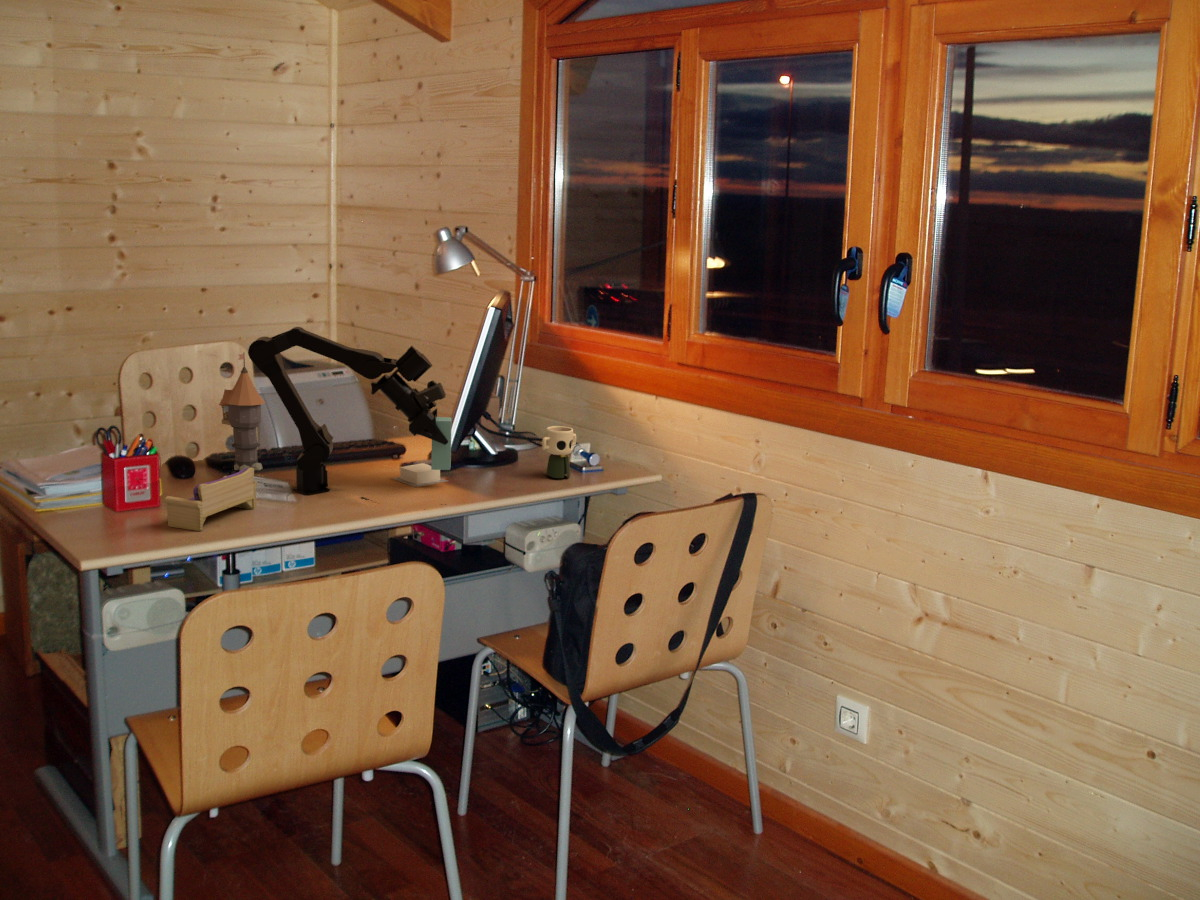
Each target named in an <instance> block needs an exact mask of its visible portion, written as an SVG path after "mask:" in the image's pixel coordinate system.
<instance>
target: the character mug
mask: <svg viewBox="0 0 1200 900" xmlns="http://www.w3.org/2000/svg"><path fill="white" fill-rule="evenodd" d="M545 429H546V430H545V437H542V441H541V442H542V443H541V448H542V449H541V450H544V451H545V452H546V453H548V454H550V455H549V456H548V460H547V461H548V462H547V467H546V476H548V477H550V478H553V479H564V478H565V475H566V478H569V477H570V476H571V472H570V471H571V470H570V460H569V459H570V458H569V456H568V455H569V454H571V453H572V452H573V450H574V446H576V444H577V434H576V433H574V428H572V427H571V426H570V427H569V426H563V425H561V426H560V425H553V426H548V427H546V428H545Z"/></svg>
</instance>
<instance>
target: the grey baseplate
mask: <svg viewBox="0 0 1200 900" xmlns="http://www.w3.org/2000/svg"><path fill="white" fill-rule="evenodd" d="M391 480H395V481H398V482H400V483H402V484H406V485H408V486H411V487H414V488H419V487H423V486H429V485H436V484H441V483H445V482H448V480H447V479H444V478H442V477H440V481H435V482H429V483H424V484H418V485H416V484H414V483H411V482H408V481H405V480H402V479H400V476H398V477H392V478H391Z"/></svg>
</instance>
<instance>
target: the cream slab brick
mask: <svg viewBox="0 0 1200 900" xmlns="http://www.w3.org/2000/svg"><path fill="white" fill-rule="evenodd" d="M399 468H400V469H399V471H400V472H399V473H400V474H399V477H400V479H402V480H405V481H408V482H411V483H414V484H416V485H418V484H424V483H429V482H435V481H440V478H441V470H431V465H430V464H427V463H424V462H423V463H415V464H412V465H411V464H410V465H405V466H400V467H399Z"/></svg>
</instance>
